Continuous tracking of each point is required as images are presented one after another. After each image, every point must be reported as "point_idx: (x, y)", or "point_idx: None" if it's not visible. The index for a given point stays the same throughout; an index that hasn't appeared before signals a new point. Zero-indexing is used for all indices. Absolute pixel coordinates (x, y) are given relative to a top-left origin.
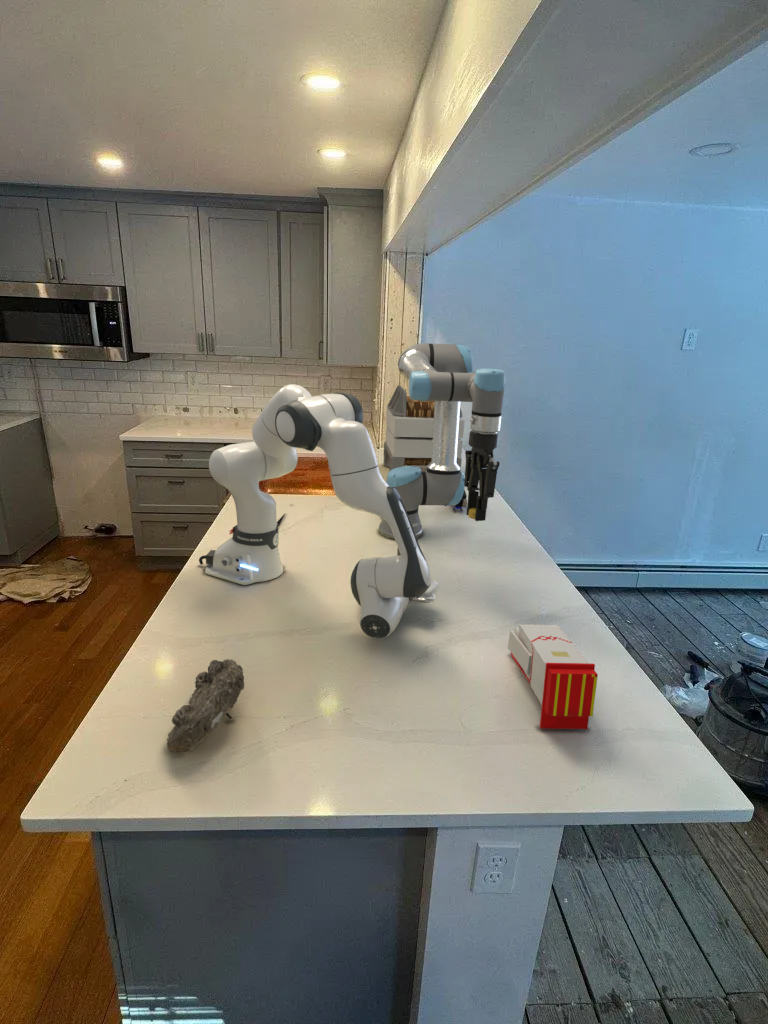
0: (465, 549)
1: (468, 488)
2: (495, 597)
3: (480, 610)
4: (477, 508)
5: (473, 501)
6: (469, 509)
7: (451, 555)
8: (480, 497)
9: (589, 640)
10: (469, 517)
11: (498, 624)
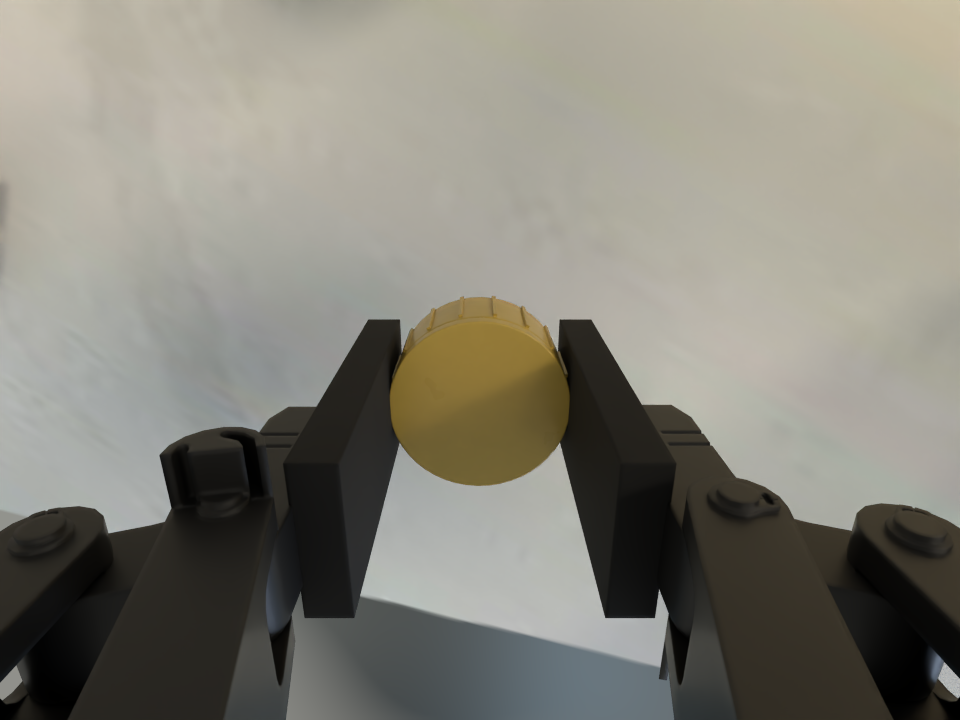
0: (876, 440)
1: (726, 502)
2: (412, 327)
3: (321, 203)
4: (339, 378)
5: (581, 450)
6: (524, 337)
7: (855, 348)
8: (179, 470)
9: (56, 468)
10: (478, 297)
11: (197, 217)
